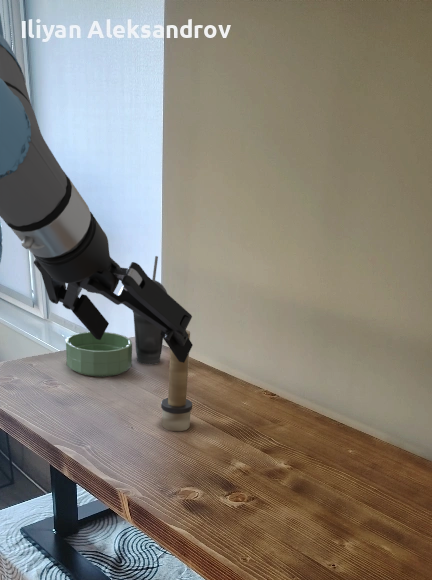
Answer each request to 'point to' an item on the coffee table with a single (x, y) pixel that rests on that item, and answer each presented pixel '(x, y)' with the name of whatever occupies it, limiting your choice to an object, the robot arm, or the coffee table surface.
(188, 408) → the dowel on round base
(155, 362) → the beverage cup
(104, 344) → the bowl
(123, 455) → the coffee table surface
